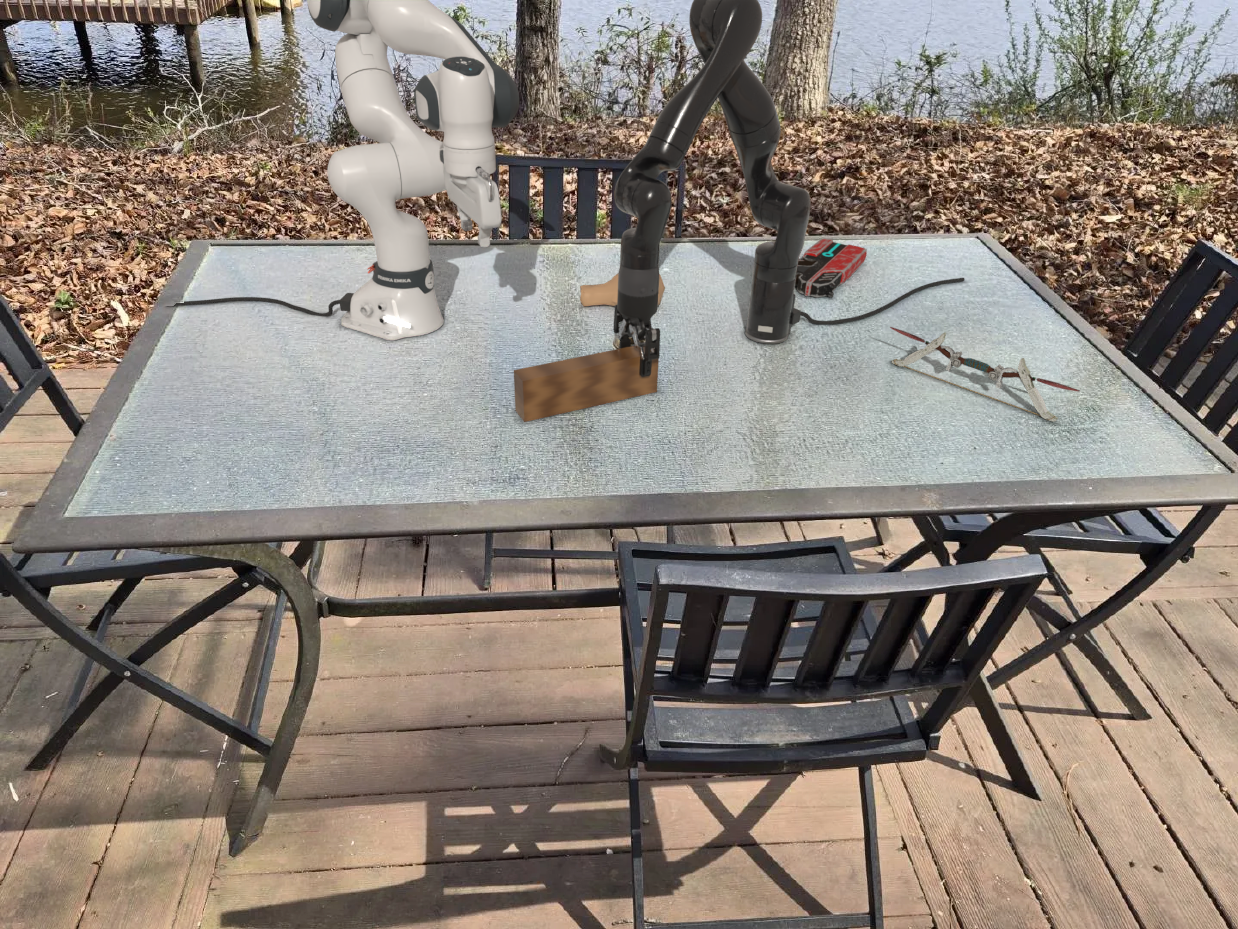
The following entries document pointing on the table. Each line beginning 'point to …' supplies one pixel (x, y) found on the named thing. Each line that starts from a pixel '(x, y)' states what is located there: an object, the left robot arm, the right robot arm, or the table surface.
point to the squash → (607, 293)
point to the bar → (581, 383)
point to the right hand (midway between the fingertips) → (634, 366)
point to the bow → (994, 374)
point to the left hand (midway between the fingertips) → (475, 237)
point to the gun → (827, 267)
